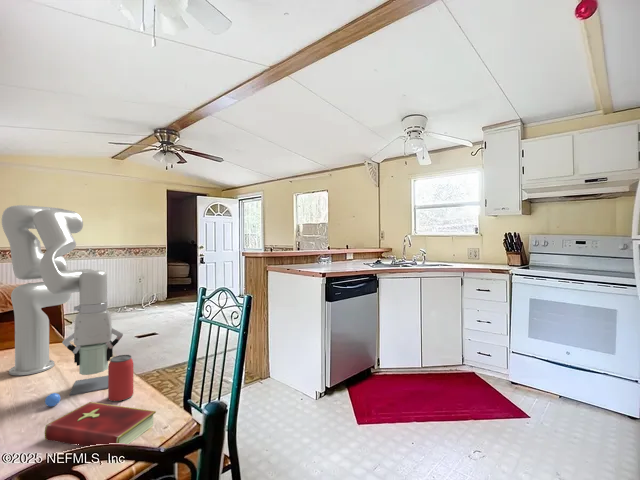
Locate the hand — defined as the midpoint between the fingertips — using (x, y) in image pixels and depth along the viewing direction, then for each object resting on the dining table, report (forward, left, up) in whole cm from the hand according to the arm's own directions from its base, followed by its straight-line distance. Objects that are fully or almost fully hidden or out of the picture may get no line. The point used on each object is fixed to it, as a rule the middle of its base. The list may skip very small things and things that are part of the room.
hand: (94, 361), depth 109 cm
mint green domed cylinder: (0, 0, -3) cm, 3 cm away
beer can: (+14, +8, -8) cm, 18 cm away
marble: (+11, -9, -6) cm, 15 cm away
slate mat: (0, 0, -8) cm, 8 cm away
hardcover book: (+33, +5, -8) cm, 34 cm away
